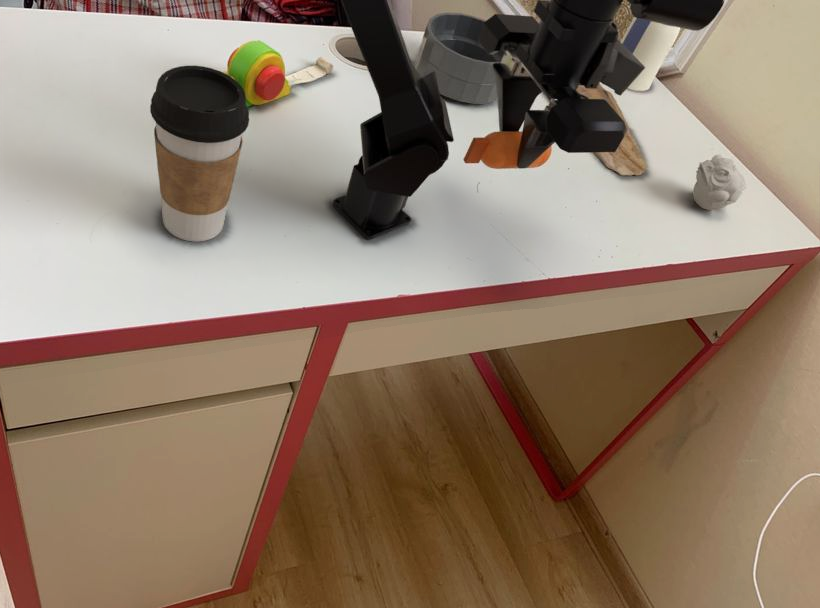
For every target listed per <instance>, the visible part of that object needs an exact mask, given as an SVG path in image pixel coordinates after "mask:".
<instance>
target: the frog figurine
mask: <svg viewBox="0 0 820 608" xmlns="http://www.w3.org/2000/svg"><path fill="white" fill-rule="evenodd" d="M695 179H696V182H695V184H694V186H693V190H692V194H693V195H692V196H693V200H694V201H695V203H696V204H697V205H698V206H699V207H700V208H702V209H704V210H707V211H718V210H722V209H724V208H726V207H728V205H732V204H734V203H736V202H737V201H738V200H739V199H740V197H741V196H742V195H743V191H744V190H745V189H746V188H747V183H746V180H745V178H744V176H743V175H742V173H741V172H740V171H739V169H738V168H737V167H736V164H735V163H734V160H733V159H730V158H726V157H724V156H723V155H722V154H715V155H714V156H712V157H711V159H706V160H704V161H703V162H699V164H698V167H697V170H696V176H695Z"/></svg>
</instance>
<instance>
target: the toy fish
mask: <svg viewBox="0 0 820 608" xmlns="http://www.w3.org/2000/svg"><path fill="white" fill-rule="evenodd" d="M522 131H523V130H522ZM522 131H520V130H519V131H516V132H500V131H492V132H490V133H488V134H487V135H485V136H484V137H473V138H472V140H471V142H470V145H469V147H468V148H467V151H466V153H465V154H464V157H463V162H464V163H465V164H480V162H481V163H483V165H484V166H486V167H487V168H489V169H495V170H502V169H503V170H505V169H509V170H510V169H519V168H518V167H517V158H518V151H519V146H520V141H521V136H522ZM552 151H553V145H551V146H550V147H549V148H548V149H547V150H546V151H545V152H544V153H543V154H542V155H541V156H539V157H538V158H537V159H536V160H535V161H534V162H533V163H532V164H531V165H530V166H529V167H527V168H526V169H534V168H535V169H536V168H539V167H542V166H543V165H545V164H546V163H547V162H548V161H549V160H550V157H551V155H552Z"/></svg>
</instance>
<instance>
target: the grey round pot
mask: <svg viewBox="0 0 820 608" xmlns="http://www.w3.org/2000/svg"><path fill="white" fill-rule="evenodd" d="M485 21H487V19H483V18H481V17H478V16H475V15H472V14H471V15H470V14H465V13H460V12H442V13H438V14H435V15H432V16H431V17H430V18H429V19H428V21H427V24H426V26H425V30H424V33H423V36H422V39H421V41H420V46H419V50H418V52H417V56H416V59H415V63H414V68H415V69H416V70H417V72H418V73H419V74H420V75H421V76H422V77H424V76H426V75H428V74H430V73H431V72H433V71H435V73H436V78H437V82H438V87H439V92H440V95H442V96H444V97H446V98H449V99H451V100H455V101H458V102H462V103H468V104H473V105H480V104H482V105H485V104H489V103H493V102H496V101H498V100H497V91H496V82H495V74H494V72H493V70H492V66H493V64H494V63H501V60H502V58H503V55H504V53H505V51H504V50H503V48H504V46H505V45H508V44H507V43H502V46H501V48H500V51H499V52H497V53H495V54H488V53H487V52H486V51H485V49H484V48H483V47H482V45H481V44H480V43H479V41H478V38H479V35H480V32H481V29H482V27H483V24H484V22H485Z"/></svg>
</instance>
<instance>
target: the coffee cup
mask: <svg viewBox="0 0 820 608" xmlns="http://www.w3.org/2000/svg"><path fill="white" fill-rule="evenodd" d="M223 72H224V71H221V70H217V69H215V68H212V67H207V66H202V65H182V66H176V67H173V68H172V67H171V68H170V69H168V70H166V71H165V72H163V73H161V75H160V76H159V78H158V80H157V82H156V87H155V91H154V92H153V94H152V97H151V99H150V101H151V103H150V105H149V106H150V107H149V112H150V114H151V118H152V119H153V121H154V122H155V126H154V128H153V134H154V136H153V137H154V145H155V146H154V147H155V154H156V155H155V156H156V163H157V173H158V174H157V175H158V182H159V193H160V198H161V199H160V200H161V213H162V222H163V225H164V227H165V229H166V230H167V231H168V232H169V233H170V234H171V235H173V236H174V237H176V238H178V239H180V240H184V241H188V242H196V243H197V242H198V243H199V242H206V241H210V240H212V239H214V238H215V237H217V236H218V235H219V234H220V233H221V232H222V230H223V229H224V224H225V219H226V213H227V209H228V205H229V201H230V197H231V193H232V189H233V185H234V181H235V176H236V172H237V167H238V163H239V159H240V155H241V152H242V148H243V147H242V146H243V136H242V135H243V134H244V133H245V132H246V130H247V129H248V127H249V123H250V117H249V116H250V111H249V108H248V107H249V106H248V107H247V105H246V95H245V91H244V90H243V88H242V87H241V85H240V84H239V83H238V82H237V81H236V80H234V79H233V78H232V77H230V76H229V75H227V74H225V73H223Z"/></svg>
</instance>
